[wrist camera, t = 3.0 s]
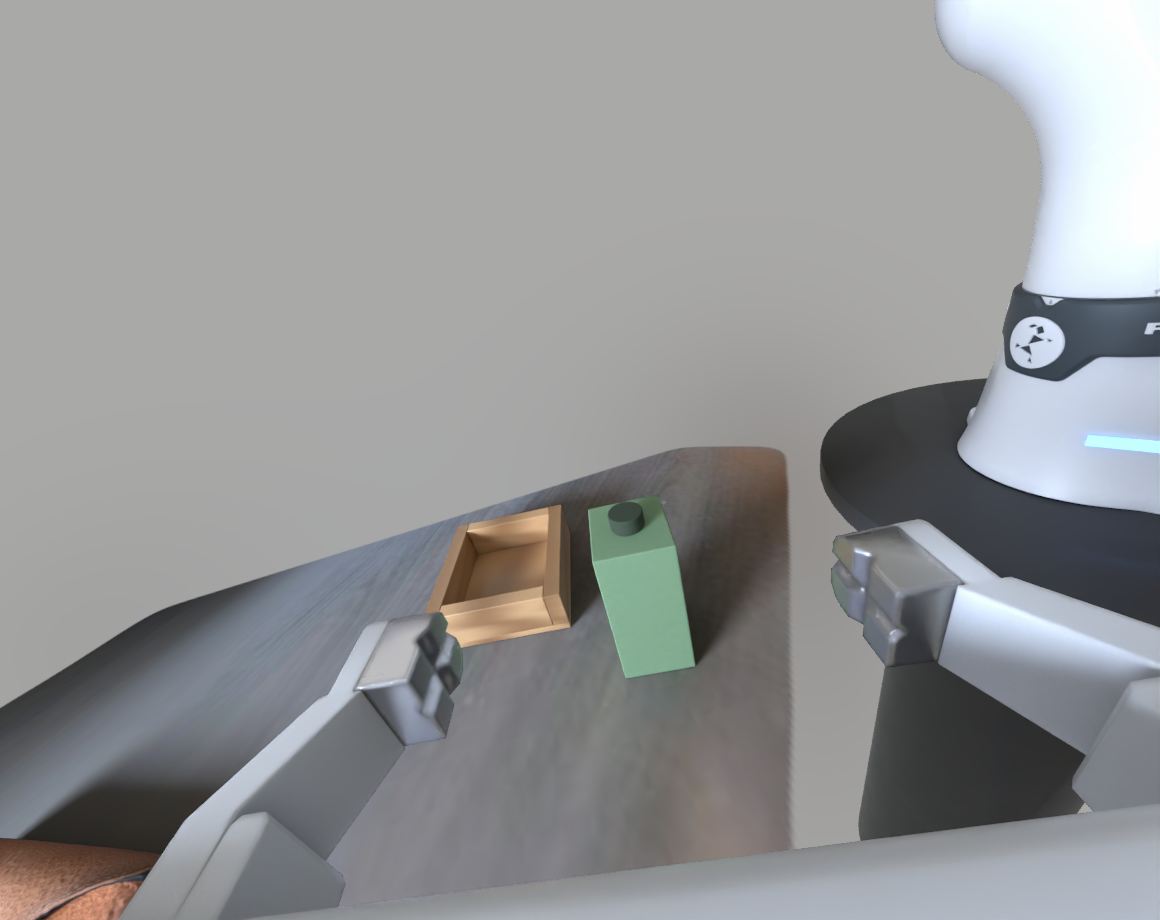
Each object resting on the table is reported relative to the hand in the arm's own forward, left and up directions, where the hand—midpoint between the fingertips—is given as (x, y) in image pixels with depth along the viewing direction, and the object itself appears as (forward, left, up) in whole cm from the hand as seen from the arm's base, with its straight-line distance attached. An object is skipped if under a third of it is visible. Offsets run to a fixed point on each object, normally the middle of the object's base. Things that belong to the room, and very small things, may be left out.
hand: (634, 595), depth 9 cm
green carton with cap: (0, -13, -18) cm, 22 cm away
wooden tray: (+11, -21, -18) cm, 30 cm away
